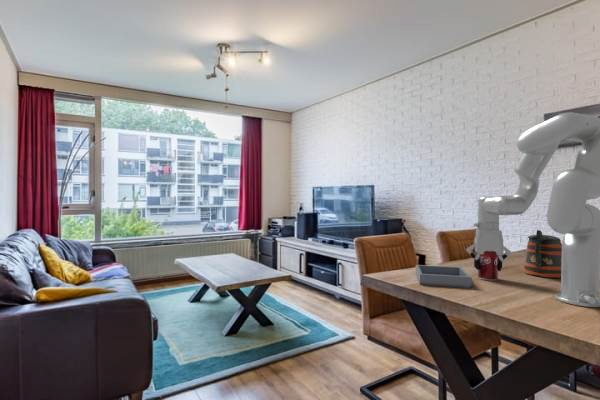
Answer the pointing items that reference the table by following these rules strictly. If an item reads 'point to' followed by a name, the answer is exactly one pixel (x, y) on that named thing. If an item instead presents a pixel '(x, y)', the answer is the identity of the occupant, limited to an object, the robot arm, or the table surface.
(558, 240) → the beer stein
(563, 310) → the table surface
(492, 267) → the soda can
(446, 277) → the tray
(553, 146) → the robot arm
